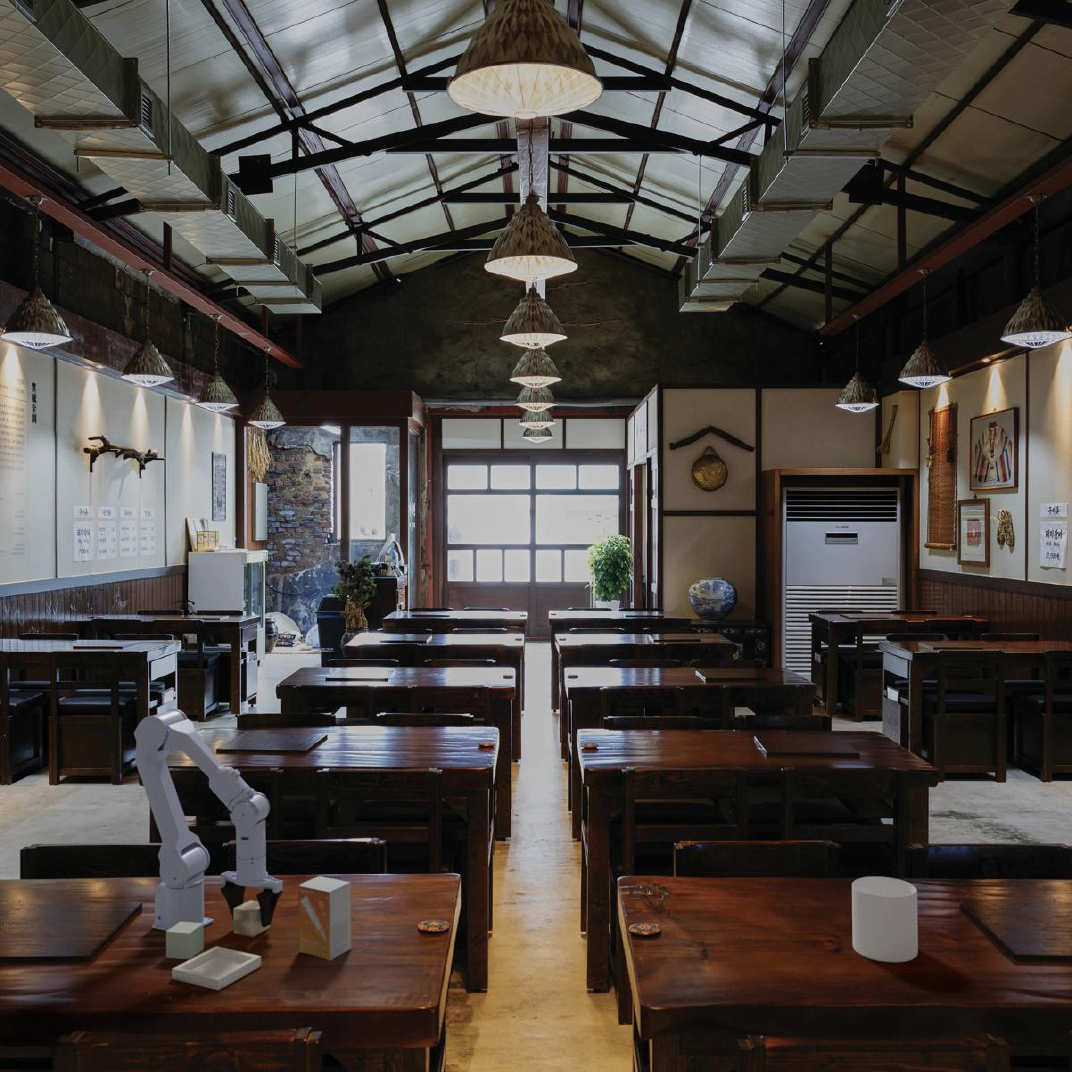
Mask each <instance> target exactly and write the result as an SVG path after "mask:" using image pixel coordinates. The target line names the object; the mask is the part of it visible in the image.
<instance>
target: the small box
mask: <svg viewBox="0 0 1072 1072" xmlns="http://www.w3.org/2000/svg"><path fill="white" fill-rule="evenodd" d="M297 886H298V887H297V888H298V893H297V894H298V895H297V896H298V899H297V900H298V910H297V911H298V921H297V922H298V923H297V924H298V925H297V926H298V953H303V954H307V955H309V956H310V955H311V956H314V957H318V958H321V959H323V960H324V959H325V960H327V961H332V960H334V959H335V958H337V957H339V956H341V955H342V954H345V953H346V952H348V951H349V950H351V949H352V900H351V898H352V896H351V895H352V894H351V893H352V891H351V889H352V888H351V887H352V882H350V881H345V880H342V879H341V880H340V879H337V878H332V877H326V876H321V875H318V876H316V877H314V878H311V879H309V880H307V881H305V882H302V883H300V884H299V885H297Z"/></svg>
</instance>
